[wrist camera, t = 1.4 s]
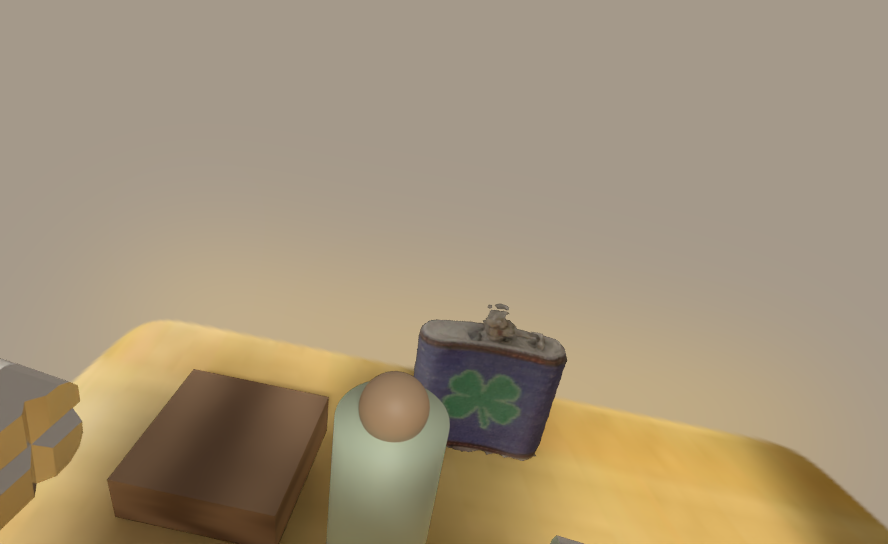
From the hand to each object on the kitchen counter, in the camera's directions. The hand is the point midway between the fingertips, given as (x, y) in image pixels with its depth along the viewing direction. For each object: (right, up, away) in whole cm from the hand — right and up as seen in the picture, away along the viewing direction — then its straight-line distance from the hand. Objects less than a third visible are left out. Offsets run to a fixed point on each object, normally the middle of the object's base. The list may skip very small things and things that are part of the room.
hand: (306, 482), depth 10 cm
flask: (+4, -8, +31) cm, 33 cm away
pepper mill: (-2, -13, +21) cm, 25 cm away
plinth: (-11, -8, +26) cm, 30 cm away
